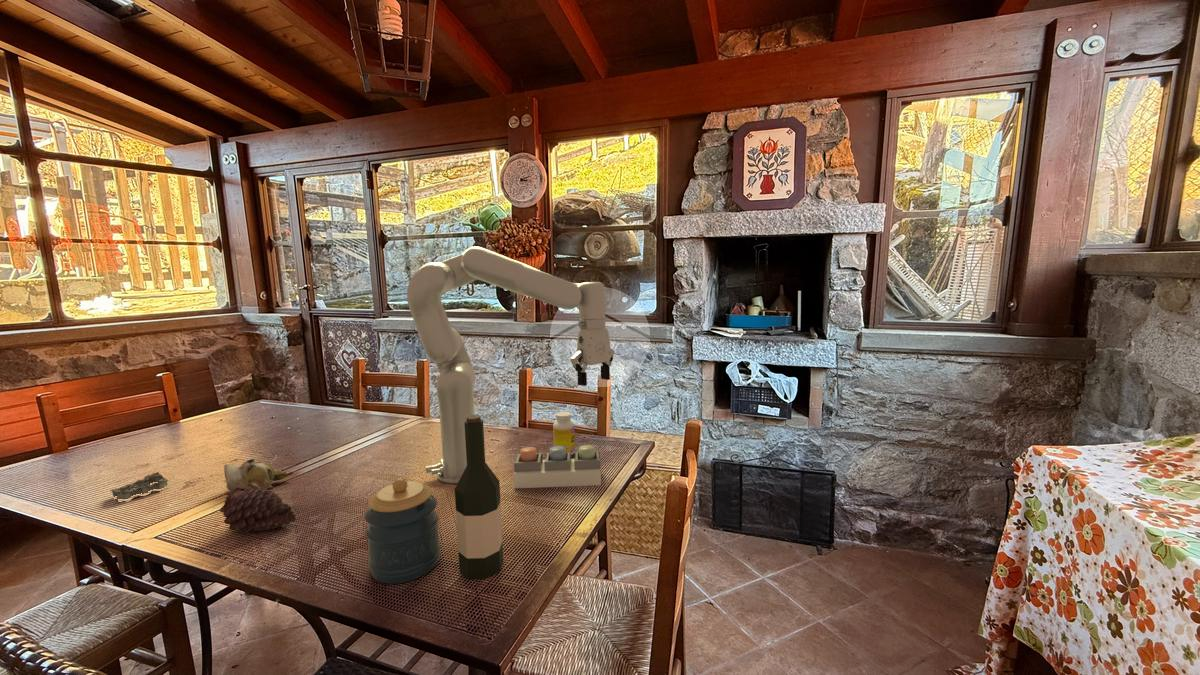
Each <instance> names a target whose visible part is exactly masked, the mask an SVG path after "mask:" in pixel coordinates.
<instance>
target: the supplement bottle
mask: <svg viewBox="0 0 1200 675" xmlns="http://www.w3.org/2000/svg"><path fill="white" fill-rule="evenodd" d="M555 419H556V421H554V422H553V425H552V427H553V430H552V431H553V434H552V435H553V447H554V446H563V447H565V448H566V452H571V456H572V455H575V452H576V444H575V443H576V442H575V441H576V440H575V439H576V438H575V437H576V436H575V423H574V422H573V420H571V419H572V413H571V412H567V411H560V412H556V414H555Z"/></svg>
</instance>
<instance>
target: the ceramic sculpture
mask: <svg viewBox="0 0 1200 675" xmlns="http://www.w3.org/2000/svg"><path fill="white" fill-rule="evenodd" d="M223 468H224V470H223V471H224V478H225V483H226V488H227V490H228V491H229V492H232V491H233V490H234V489H236V488H238V487H239V488H241V490H244V489H245V487H251V488H253V489H255V488H260V489H267V490H268V491H272V490H273V489H274V486H272V484H271V483H272V482H273V481H275V482H276V481H281V480H284V479H286V478H288V477H290V476H292V475H293V474H294V473H295V472H293V471H290V472H286V471H283V470H281V469H276V468H274V467H273V466H272V465H271V464H270V463H268V462H266V461H264V462H263V461H256V460H255V459H253V458H251V459H247V461H245V462H243V463H242V465H239V464H227V463H225V464H224V467H223Z"/></svg>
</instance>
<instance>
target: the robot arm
mask: <svg viewBox="0 0 1200 675" xmlns="http://www.w3.org/2000/svg"><path fill="white" fill-rule="evenodd" d="M475 281H481V282H485V283H488V284H490V285H493V286H496V287H498V288H501V289H504V290H507V291H510V292H512V293H515V294H518V295H520V296H525V297H530V298H532V299H535V300H538V301H542V302H544V303H547V304H549V305H552V306H555V307H558V308H560V309H563V310H565V311H566V310H569V311H570V310H573V309H576V308H577V307H578V315H579V316H578V317H579V322H578V323H577V326H578V328H579V330H578V331H577V332H578V333H577V340H576V342H577V343H576V353H575V354H574V355H572V356H571V357H570V362H571V365H572V367H573V368H574V369H575V370H574V371H575V372H577V385H579V386H582V387H586V386H587V385H588V378H587V377H588V376H587V374H588V373H587V372H586V370H587V368H588V366H594V365H598V364H599V365H600V364H601V365H600V379H601V380H606V381H610V379H611V372H610V368H611V367H612V362H613V359H614V355H615V350H614V349H612V348H611V341H610V335H609V330H608V327H607V328H606V296H605V290H606V289H605V284H604V283H603V282H600V281H585V282H580V283H579V282H571V281H568V280H566V279H564V278H561V277H558V276H555V275H552V274H551V273H547V272H544V271H541V270H540V269H538V268H535V267H532V266H531V265H528V264H526V263H523V262H521V261H519V260H515V259H512V258H510V257H508V256H505V255H503V254H499V253H498V252H494V251H492V250H490V249H487V248H484V247H481V246H471V247H468V248H467V249H465V251H464V252H463V253H461V254H458V255H456V256H453V257H450V258H448V259H445V260H442V261H441V262H437V261H435V262H434V261H432V262H428V263H426V264H424V265H422V266H421V267H419V269H418V270H416V272H415V273H414V274H413V276H412V277H411V278H410V280H409V283H408V285H407V288H406V300H407V301H406V302H407V305H408V309H409V311H410V314H411V317H412V318H413V323H414V325H415V328H416V331H417V333H418V336H419V339H420V341H421V344H422V346H423V350H424V353H425V355H426V356H427V357H428V359H429V360H431V361H432V362H434V363H435V364H436V366H437V370H438V372H439V375H438V377H437V380H436V381H437V382H436V397H437V402H438V414H439V425H440V438H441V440H440V441H441V453H442V455H441V456H442V459H440V461H439V462H437V463H436V464H433V465H432V464H431V465H426V466H425V469H424V470H425V474H429V473H430V474H431V475H432V476H433V475H437V478H438V480H439V481H440V482H442V483H446V484H458V482H459V480H460V478H461V476H462V474H463V472H464V470H465V468H466V466H467V458H466V441H465V424H464V422H465V421H466V420H467V417H468V416H471V415H476V410H475V409H476V408H475V407H476V406H475V396H474V384H475V378H476V374H475V370H474V367H473V363H472V361H471V358H470V356H469V354H468V350H467V348H466V346H465V344H464V343H465V342H464V340H463V338H462V336H461V334H460V333H459V331H457V329H455V328H454V327H452V325H451V323H450V321H449V318H448V315H447V312H446V309H445V307H444V305H443V302H442V295H443V294H444V293H448V292H450V291H452V290H453V291H454V290H455V289H457V288H460V287H463V286H465V285H467V284H471V283H472V282H475Z"/></svg>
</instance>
